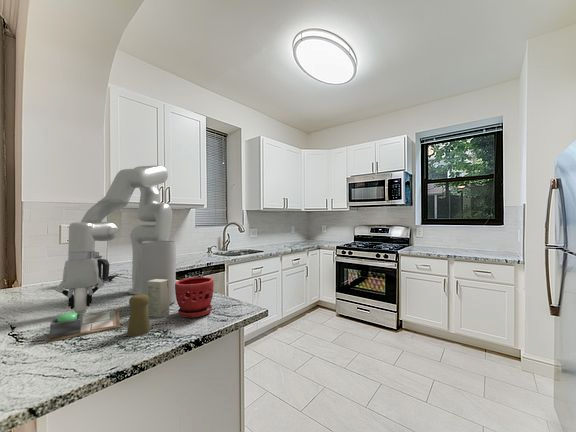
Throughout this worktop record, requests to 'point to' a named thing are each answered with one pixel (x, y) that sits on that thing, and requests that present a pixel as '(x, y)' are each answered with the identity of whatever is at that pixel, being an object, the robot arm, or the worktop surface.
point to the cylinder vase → (159, 264)
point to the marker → (80, 300)
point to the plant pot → (194, 296)
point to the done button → (67, 317)
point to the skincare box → (158, 297)
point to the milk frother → (105, 271)
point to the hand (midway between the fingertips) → (80, 306)
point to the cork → (138, 315)
